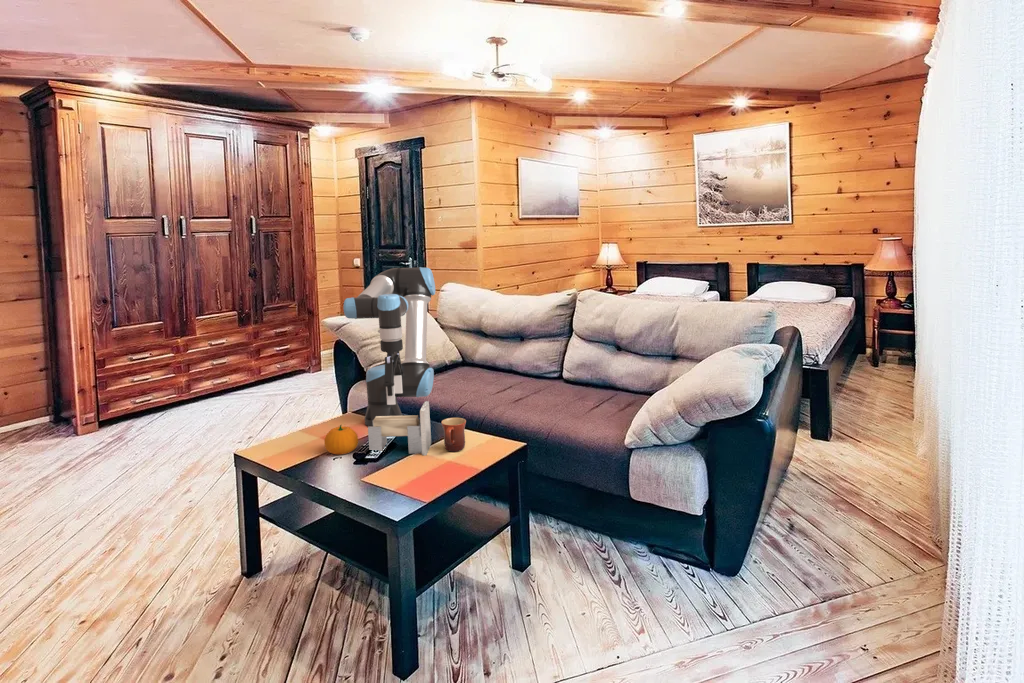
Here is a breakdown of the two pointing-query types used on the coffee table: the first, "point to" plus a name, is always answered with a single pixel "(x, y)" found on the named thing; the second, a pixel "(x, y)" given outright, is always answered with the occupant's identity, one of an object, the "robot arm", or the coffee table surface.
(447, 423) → the mug
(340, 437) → the fruit
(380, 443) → the saddle post
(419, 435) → the cup bracket
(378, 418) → the light wooden block
